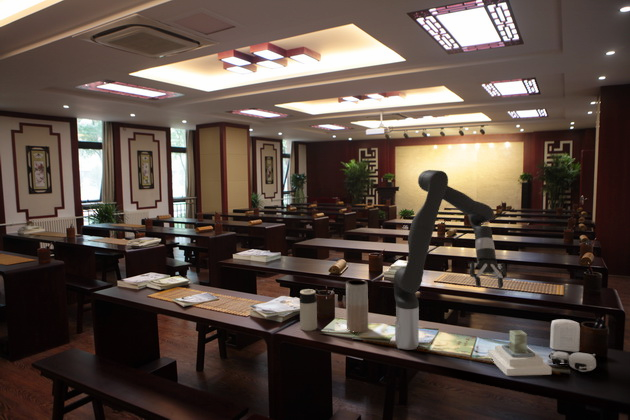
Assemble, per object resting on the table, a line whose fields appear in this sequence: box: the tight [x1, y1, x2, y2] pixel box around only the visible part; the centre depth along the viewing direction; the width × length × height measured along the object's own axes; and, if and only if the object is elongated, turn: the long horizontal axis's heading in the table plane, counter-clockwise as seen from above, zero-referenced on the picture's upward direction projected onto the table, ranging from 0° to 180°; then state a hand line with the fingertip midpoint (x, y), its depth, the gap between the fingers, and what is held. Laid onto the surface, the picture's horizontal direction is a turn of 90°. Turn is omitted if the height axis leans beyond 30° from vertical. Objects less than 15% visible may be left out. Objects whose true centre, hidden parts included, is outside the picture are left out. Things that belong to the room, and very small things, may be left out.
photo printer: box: [549, 318, 581, 353], centre depth 167 cm, size 10×4×12 cm, turn 72°
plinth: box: [487, 344, 552, 377], centre depth 155 cm, size 16×16×6 cm
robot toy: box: [546, 350, 597, 373], centre depth 154 cm, size 12×4×15 cm
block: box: [508, 329, 528, 354], centre depth 155 cm, size 4×4×8 cm
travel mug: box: [299, 288, 318, 332], centre depth 197 cm, size 8×8×18 cm
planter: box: [345, 278, 369, 333], centre depth 194 cm, size 10×10×23 cm
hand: (489, 287), depth 170 cm, fingers open, 8 cm apart
